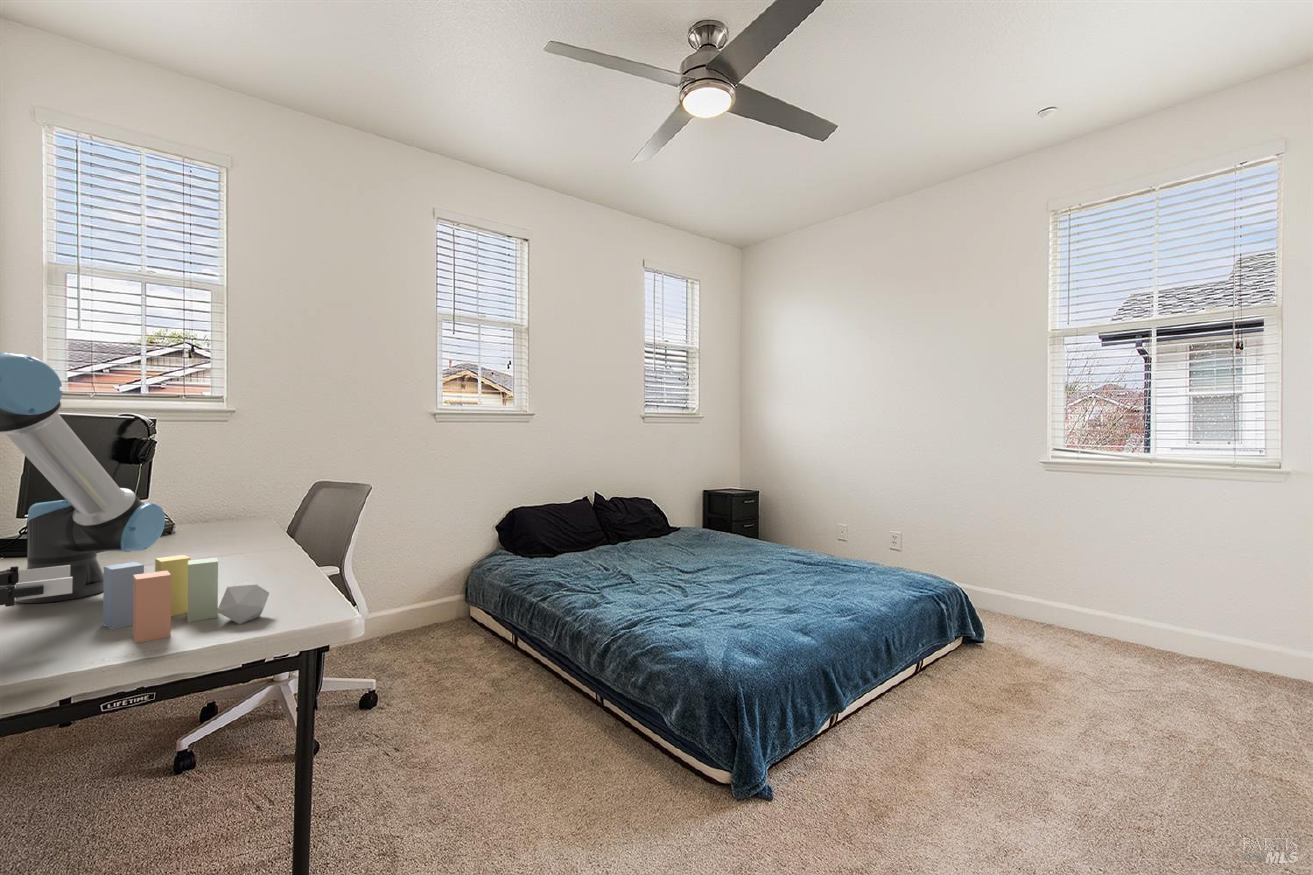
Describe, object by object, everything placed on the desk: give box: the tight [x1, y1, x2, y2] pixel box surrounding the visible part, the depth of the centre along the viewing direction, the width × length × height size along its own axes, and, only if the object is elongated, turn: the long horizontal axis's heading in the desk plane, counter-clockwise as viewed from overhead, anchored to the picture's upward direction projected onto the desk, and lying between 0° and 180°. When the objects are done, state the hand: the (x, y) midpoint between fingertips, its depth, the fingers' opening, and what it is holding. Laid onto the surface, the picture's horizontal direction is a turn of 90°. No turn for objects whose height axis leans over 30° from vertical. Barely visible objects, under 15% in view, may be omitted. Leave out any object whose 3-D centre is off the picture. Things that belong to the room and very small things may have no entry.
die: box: [217, 580, 270, 625], centre depth 120 cm, size 8×9×10 cm
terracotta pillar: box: [132, 571, 172, 644], centre depth 110 cm, size 5×5×12 cm
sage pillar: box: [186, 557, 219, 623], centre depth 122 cm, size 5×5×12 cm
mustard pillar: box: [154, 554, 192, 617], centre depth 124 cm, size 5×5×12 cm
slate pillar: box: [102, 561, 145, 630], centre depth 117 cm, size 5×5×12 cm
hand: (71, 578), depth 103 cm, fingers open, 13 cm apart
